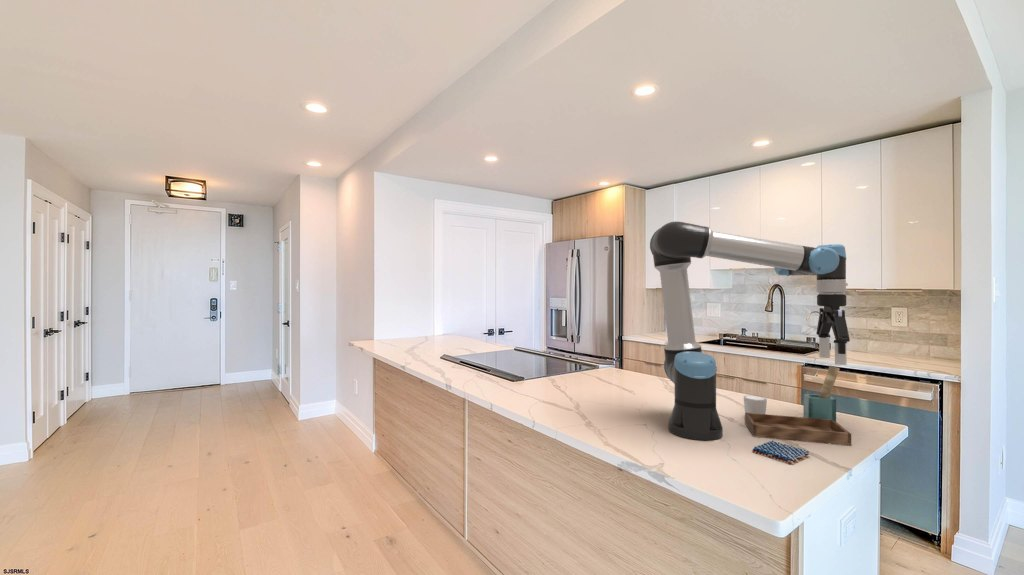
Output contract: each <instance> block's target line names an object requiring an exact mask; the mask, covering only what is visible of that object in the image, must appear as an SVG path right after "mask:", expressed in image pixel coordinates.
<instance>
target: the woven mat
mask: <svg viewBox="0 0 1024 575" xmlns="http://www.w3.org/2000/svg"><path fill="white" fill-rule="evenodd" d="M751 452H752V453H753V454H756V455H761V456H763V457H767V458H769V459H773V460H776V461H779V462H782V463H785V464H788V465H794V464H797V463H799V462H803V461H804V460H805V459H809V458H810V457H811V456H810V454H811V453H810V451H808V450H806V449H802V448H799V447H793V446H792V445H789V444H786V443H784V444H783V443H781V442H776V441H774V440H773V439H772V441H770V440H769V441H768V442H767V441H766V442H764V443H762V444H759V445H757V446H754V448H752V450H751Z"/></svg>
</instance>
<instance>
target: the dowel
mask: <svg viewBox="0 0 1024 575" xmlns="http://www.w3.org/2000/svg"><path fill="white" fill-rule="evenodd" d="M839 372H840V367H837V366H834V365H829V367H828V369H827V372H826V375H825V377H824V380H823V383H822V386H821V389H820V391H819V394H818V395H819V397H818V398H829V397H830V396H831V394H832V391H833V388H834V385H835V383H836V379H837V377H838V374H839Z"/></svg>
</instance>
